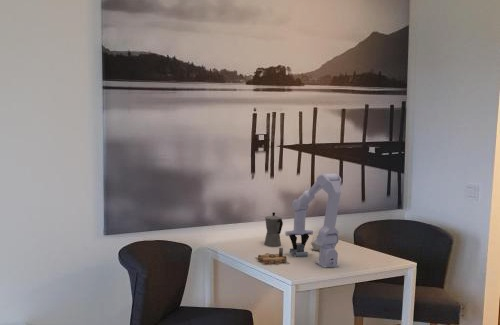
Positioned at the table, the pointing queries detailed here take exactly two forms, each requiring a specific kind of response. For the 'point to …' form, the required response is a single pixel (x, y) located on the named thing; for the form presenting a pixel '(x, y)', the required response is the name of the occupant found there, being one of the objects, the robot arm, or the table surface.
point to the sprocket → (273, 257)
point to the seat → (298, 253)
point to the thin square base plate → (272, 263)
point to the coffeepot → (273, 230)
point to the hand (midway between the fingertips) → (298, 248)
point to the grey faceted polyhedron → (315, 244)
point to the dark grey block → (299, 247)
